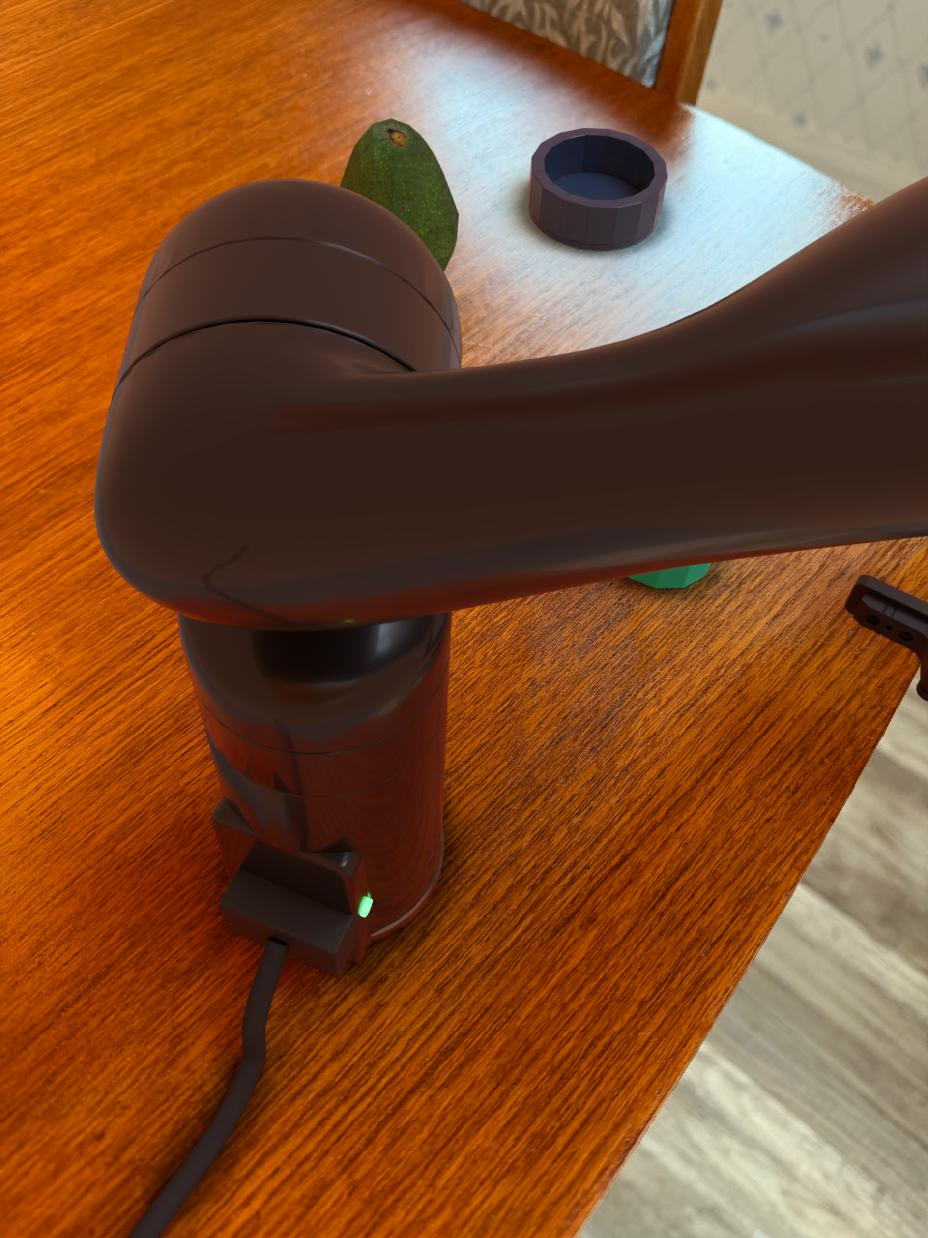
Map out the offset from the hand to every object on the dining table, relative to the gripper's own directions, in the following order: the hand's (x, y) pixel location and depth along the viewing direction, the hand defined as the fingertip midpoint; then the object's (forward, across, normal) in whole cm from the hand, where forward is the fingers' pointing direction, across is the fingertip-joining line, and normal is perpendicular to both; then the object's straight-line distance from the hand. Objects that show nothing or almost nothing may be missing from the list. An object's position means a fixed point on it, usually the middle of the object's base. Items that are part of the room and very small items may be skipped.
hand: (885, 533), depth 58 cm
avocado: (+36, -10, +8) cm, 38 cm away
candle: (+11, 0, +9) cm, 14 cm away
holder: (+29, -25, +8) cm, 39 cm away
